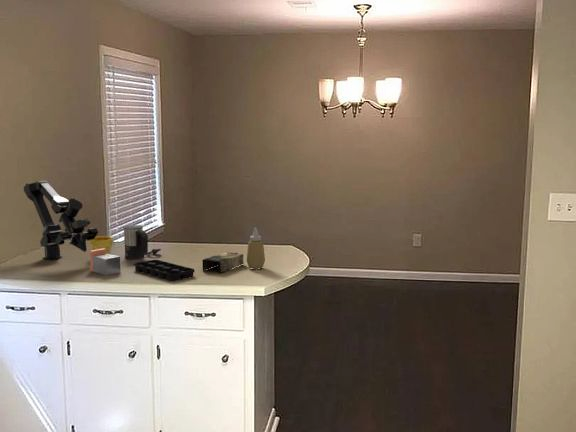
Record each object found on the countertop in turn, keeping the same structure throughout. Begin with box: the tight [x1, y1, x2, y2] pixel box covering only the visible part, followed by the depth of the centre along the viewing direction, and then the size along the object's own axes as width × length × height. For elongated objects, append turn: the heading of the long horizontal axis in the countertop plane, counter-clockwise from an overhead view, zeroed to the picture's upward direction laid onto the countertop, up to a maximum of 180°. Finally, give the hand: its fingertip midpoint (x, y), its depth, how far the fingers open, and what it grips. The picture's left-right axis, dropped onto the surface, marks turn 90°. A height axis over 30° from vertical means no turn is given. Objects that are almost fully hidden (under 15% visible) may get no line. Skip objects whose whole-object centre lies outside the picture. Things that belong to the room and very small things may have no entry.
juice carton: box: [201, 252, 245, 274], centre depth 297 cm, size 20×10×6 cm, turn 152°
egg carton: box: [133, 259, 195, 282], centre depth 287 cm, size 18×30×4 cm, turn 58°
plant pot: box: [88, 235, 114, 254], centre depth 316 cm, size 10×10×10 cm
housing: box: [92, 253, 122, 276], centre depth 289 cm, size 10×7×7 cm
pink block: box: [89, 248, 106, 272], centre depth 290 cm, size 10×7×9 cm, turn 49°
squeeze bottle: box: [246, 227, 266, 269], centre depth 294 cm, size 8×8×18 cm
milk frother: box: [123, 224, 161, 260], centre depth 321 cm, size 14×16×15 cm
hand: (85, 251), depth 299 cm, fingers closed
